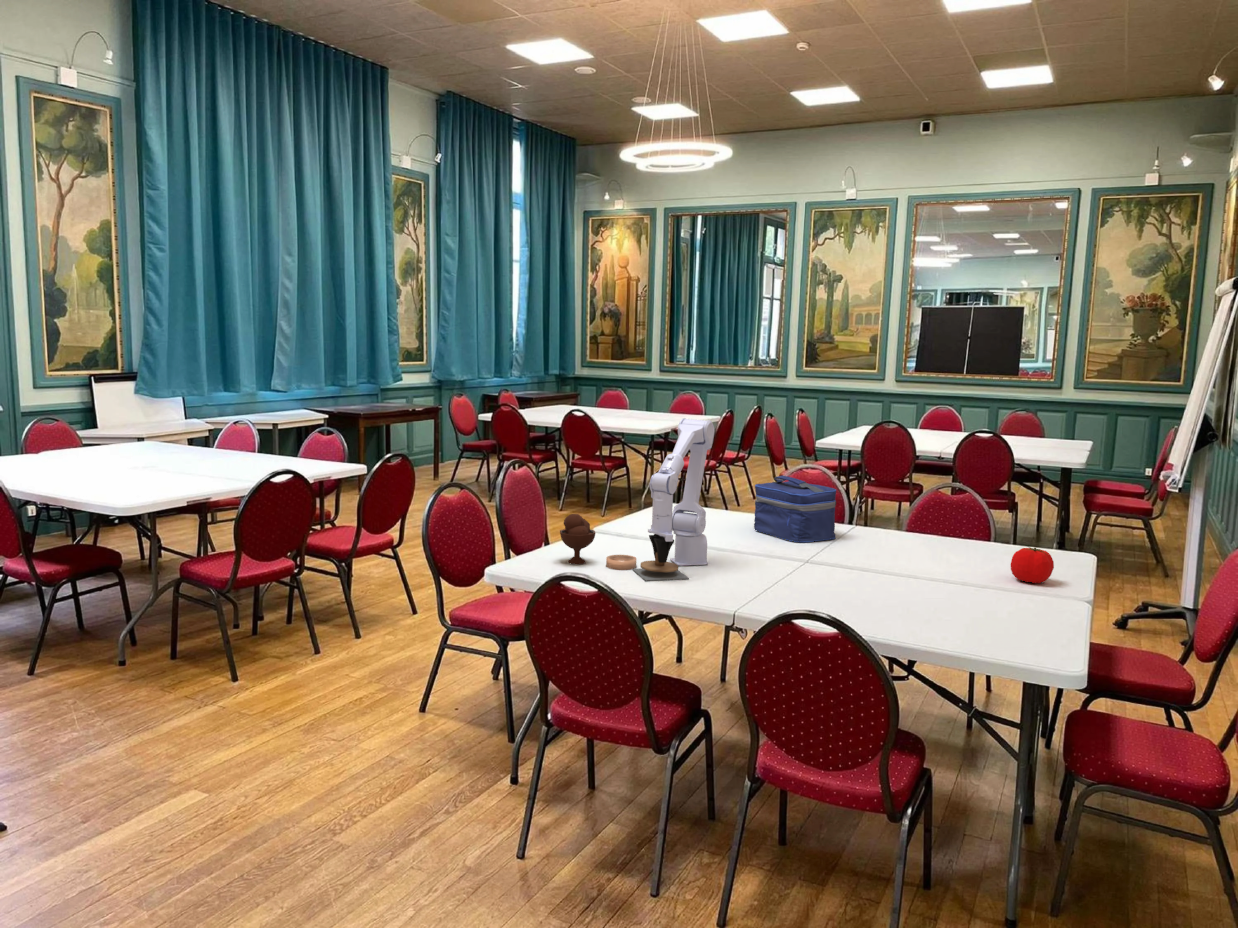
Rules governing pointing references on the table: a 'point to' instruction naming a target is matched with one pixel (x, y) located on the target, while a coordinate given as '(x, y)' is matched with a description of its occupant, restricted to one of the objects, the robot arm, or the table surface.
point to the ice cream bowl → (577, 536)
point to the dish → (621, 562)
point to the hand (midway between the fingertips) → (660, 560)
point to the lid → (659, 565)
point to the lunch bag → (795, 510)
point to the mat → (659, 575)
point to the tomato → (1032, 565)
